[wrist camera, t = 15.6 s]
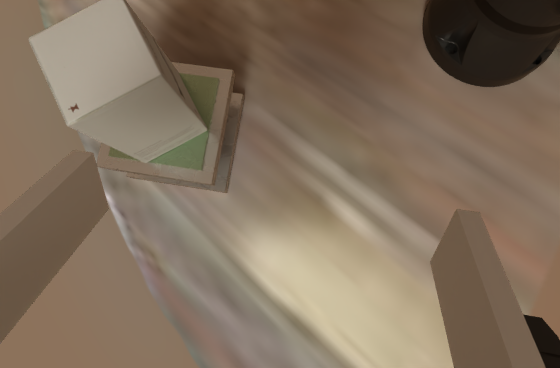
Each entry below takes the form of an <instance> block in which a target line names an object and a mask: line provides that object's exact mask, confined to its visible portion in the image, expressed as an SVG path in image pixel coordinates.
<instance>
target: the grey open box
mask: <svg viewBox="0 0 560 368" xmlns="http://www.w3.org/2000/svg"><path fill="white" fill-rule="evenodd" d="M172 64H173V65H174V67H175V68H176V69H177V71H178V72H179V74H180V77H181V79H182V81H183V83H184V85H185V87H186V89H187V91H188V93H189V95H190V97H191V99H192V101H193V103H194V105H195V107H196V109H197V110H198V112H199V114H200V116H201V118H202V120H203V121H204V123H205V125H206V126H207V128H208V130H207V131H206V132H204V133H202V134H200V135H199V136H196V137H195V138H193V139H191V140H189V141H187V142H185V143H183V144H181V145H180V146H178V147H176V148H174V149H172V150H170V151H168V152H166V153H164V154H162V155H160V156H158V157H157V158H155V159H153V160H151V161H149V162H147V163H144V162H142V161H140V160H138V159H135V158H133V157H131V156H129V155H127V154H125V153H123V152H121V151H119V150H117V149H114V148H112V147H110V146H108V145H106V144H104V143H102V142H101V147H100V151H99V155H98V160H97V167H100V168H103V169H109V170H115V171H121V172H127V175H126V176H127V177H130V178H134V179H140V180H147V181H153V182H159V183H166V184H172V185H178V186H185V187H191V188H197V189H204V190H210V191H216V192H223V193H227V192H228V186H229V181H230V175H231V170H232V164H233V159H234V153H235V148H236V143H237V137H238V132H239V126H240V121H241V115H242V110H243V104H244V96H243V94H239V93H232V91H233V86H234V81H235V74H234V72H233V70H229V69H222V68H214V67H207V66H199V65H191V64H184V63H176V62H172Z"/></svg>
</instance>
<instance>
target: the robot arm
mask: <svg viewBox="0 0 560 368" xmlns="http://www.w3.org/2000/svg"><path fill="white" fill-rule="evenodd" d="M423 35H424V40H425V43H426V46H427V49H428V51H429V53H430V54H431V56H432V58H433V59H434V60H435V62H436V63H437V64H438V65H439V66H440V67H441V68H442V69H443V70H444V71H445V72H446V73H448V74H449V75H451V76H452V77H454V78H456V79H458V80H460V81H462V82H465V83H468V84H471V85H475V86H482V87H496V86H503V85H507V84H510V83H513V82H516V81H518V80H520V79H522V78H523V77H525V76H526V75H528V74H529V73H531V72H532V71H534V70H535V69H536V68H538V67H539V66H540V65H541V64H543V63H544V62H545V61H546V60H547V59H548V57H549V56H550V55H551V54H552V52H553V51H554V49H555V48H556V46H557V44H558V43H559V41H560V0H430V2H429V4H428V6H427V8H426V11H425V15H424V19H423ZM108 209H109V207H108V203H107V200H106V196H105V193H104V189H103V186H102V182H101V179H100V175H99V172H98V168H97V164H96V161H95V157H94V154H93V153H91V152H84V151H77V150H73V151H72V152H71V153H70V154H68V155H67V156H66V157H65V158H64V159H63V160H61V161H60V162H59V163H58V164H57V165H56V166H55V167H53V168H52V169H51V170H50V171H49V172H48V173H47V174H46V175H44V176H43V177H42V178H41V179H40V180H39V181H37V182H36V183H35V184H34V185H33V186H32V187H30V188H29V189H28V190H27V191H26V192H25V193H24V194H22V195H21V196H20V197H19V198H18V199H17V200H16V201H14V202H13V203H12V204H11V205H10V206H9V207H7V208H6V209H5V210H4V211H3V212H2V213H1V214H0V343H1V342H2V341H3V340H4V338H5V337H6V336H7V334H8V333H9V332H10V331H11V330H12V329H13V327H14V326H15V325H16V323H17V322H18V321H19V320H20V319H21V317H22V316H23V315H24V314H25V312H26V311H27V310H28V309H29V307H30V306H31V305H32V304H33V302H34V301H35V300H36V299H37V298H38V296H39V295H40V294H41V292H42V291H43V290H44V289H45V288H46V286H47V285H48V284H49V283H50V281H51V280H52V279H53V278H54V276H55V275H56V274H57V273H58V271H59V270H60V269H61V268H62V266H63V265H64V264H65V263H66V261H67V260H68V259H69V258H70V256H71V255H72V254H73V252H75V250H76V249H77V248H78V246H79V245H80V244H81V243H82V242H83V240H84V239H85V238H86V237H87V235H88V234H89V233H90V232H91V230H92V229H93V228H94V227H95V225H96V224H97V223H98V222H99V221H100V219H101V218H102V217H103V216H104V214H105V213H106V212H107V211H108ZM430 263H431V268H432V272H433V277H434V281H435V285H436V290H437V294H438V299H439V303H440V308H441V312H442V316H443V321H444V325H445V330H446V334H447V338H448V343H449V347H450V352H451V356H452V361H453V365H454V368H560V340H559V338H558V336H557V335H556V334H555V333H554V332H553V330H552V329H551V328H550V327H549V326H548V325H547V324H546V322H545V321H544V320H543V319H542V318H540V317H534V316H528V315H523V313H522V311H521V309H520V306H519V304H518V302H517V299H516V297H515V294H514V292H513V290H512V287H511V285H510V283H509V280H508V278H507V276H506V273H505V271H504V269H503V266H502V264H501V262H500V259H499V257H498V255H497V252H496V250H495V248H494V245H493V243H492V241H491V238H490V236H489V233H488V231H487V229H486V226H485V224H484V222H483V219H482V217H481V215H480V212H474V211H467V210H461V209H456V211H455V213H454V215H453V217H452V219H451V221H450V223H449V225H448V227H447V229H446V231H445V233H444V235H443V237H442V239H441V241H440V243H439V245H438V247H437V249H436V251H435V253H434V255H433V257H432V259H431V261H430Z"/></svg>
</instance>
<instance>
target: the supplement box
mask: <svg viewBox="0 0 560 368" xmlns="http://www.w3.org/2000/svg"><path fill="white" fill-rule="evenodd" d="M29 43H30V45H31V47H32V49H33V51H34V53H35V55H36V58H37V60H38V62H39V64H40V67H41V69H42V71H43V73H44V75H45V78H46V80H47V83H48V85H49V87H50V89H51V91H52V93H53V95H54V98H55V100H56V102H57V104H58V106H59V109H60V111H61V113H62V115H63V118H64V120H65V123H66V125H67V126H69V127H71V128H73V129H75V130H77V131H79V132H81V133H83V134H85V135H87V136H89V137H91V138H93V139H96V140H98V141H100V142H102V143H104V144H106V145H108V146H110V147H112V148H114V149H117V150H119V151H121V152H123V153H125V154H127V155H129V156H131V157H133V158H135V159H138V160H140V161H142V162H144V163H147V162H149V161H151V160H153V159H155V158H157V157H158V156H160V155H162V154H164V153H166V152H168V151H170V150H172V149H174V148H176V147H178V146H180V145H181V144H183V143H185V142H187V141H189V140H191V139H193V138H195V137H196V136H199V135H200V134H202V133H204V132H206V131H207V130H208V128H207V126H206V125H205V123H204V121H203V120H202V118H201V116H200V114H199V112H198V110H197V109H196V107H195V105H194V103H193V101H192V99H191V97H190V95H189V93H188V91H187V89H186V87H185V85H184V83H183V81H182V79H181V77H180V74H179V72H178V71H177V69H176V68H175V67H174V65H173V64H172V62H171V61H170V60H169V58H168V57H167V55H166V54H165V53H164V51H163V50H162V49H161V47H160V46H159V45H158V43H157V42H156V40H155V39H154V38H153V36H152V35H151V34H150V32H149V31H148V30H147V28H146V27H145V26H144V24H143V23H142V22H141V20H140V19H139V18H138V17H137V15H136V14H135V12H134V11H133V10H132V8H131V7H130V6H129V4H128V3H127V2H126V0H100V1H98V2H97V3H95V4H93V5H91V6H89V7H87V8H85V9H83V10H81V11H79V12H77V13H76V14H74V15H72V16H70V17H68V18H66V19H64V20H63V21H61V22H59V23H57V24H55V25H53V26H51V27H49V28H47V29H45V30H43V31H41V32H39V33H37V34H35V35H32V36H30V37H29Z"/></svg>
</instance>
